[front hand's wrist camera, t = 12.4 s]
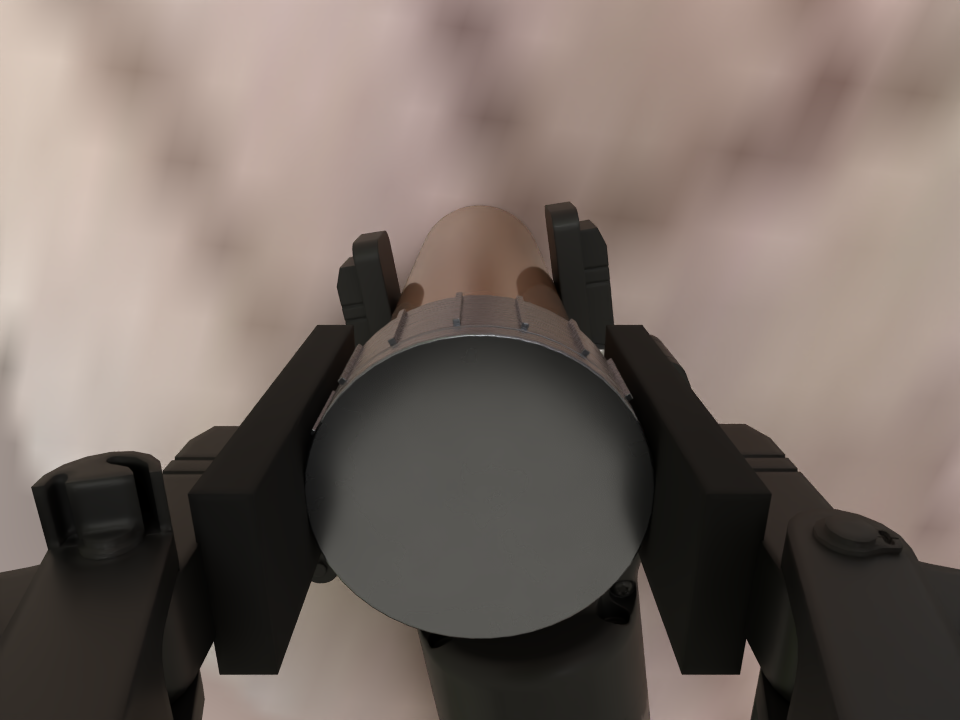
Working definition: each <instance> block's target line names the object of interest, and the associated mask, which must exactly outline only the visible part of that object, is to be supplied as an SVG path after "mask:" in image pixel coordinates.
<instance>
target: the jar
mask: <svg viewBox="0 0 960 720" xmlns="http://www.w3.org/2000/svg"><path fill="white" fill-rule="evenodd" d="M457 292H462V293H463V296H466V295H492V296H501V297H509V298H513V299H516V296H517V295H518V296H522V297H523V300H524V301H525V302H529V303H532V304H534V305H537V306H539V307H542V308H544V309H547V310H549V311H551V312H553V313H555V314H556V315H558V316H560V317H562V318H563V319H565V320H567V321H568V322H569V321H570V320H569V318H568V315H567V313H566V311H565V308H564V306H563V304H562V301H561V299H560V297H559V295H558V292H557V290H556V288H555V285H554V283H553V281H552V278H551V276H550V274H549V272H548V269H547V267H546V265H545V262H544V260H543V258H542V255H541V253H540V251H539V249H538V246H537V244H536V242H535V239H534V238H533V236H532V234H531V232H530V231H529V230H528V228H527V227H526V226H525V225H524V224H523V223H522V222H521V221H520V220H519V219H517V218H516V217H515V216H513V215H512V214H510V213H508V212H506V211H504V210H502V209H499V208H495V207H491V206H469V207H465V208H461V209H458V210H456V211H454V212H452V213H450V214H448V215H446V216H445V217H444V218H442V219H441V220H440V221H439V222H438V223H437V224H436V225H435V226H434V227H433V228H432V230H431V231H430V232H429V234H428V236H427V238H426V239H425V241H424V244H423V246H422V248H421V250H420V253H419V255H418V257H417V260H416V262H415V264H414V266H413V269H412V271H411V273H410V276H409V278H408V280H407V282H406V285H405V287H404V289H403V291H402V294H401V296H400V298H399V301H398V303H397V305H396V307H395V310H394V312H393V314H392V317H391V319H390V321H389V323H390V322H391V321H392V320H394V319H396V318H397V316H398V313H399V311H401V310H403V309H405V310H406V312H408V311H410V310H413V309H415V308H417V307H420V306H422V305H425V304H427V303H431V302H434V301H438V300H442V299H446V298H451V297H455V296H456V293H457Z"/></svg>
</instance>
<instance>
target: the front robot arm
mask: <svg viewBox="0 0 960 720" xmlns="http://www.w3.org/2000/svg"><path fill="white" fill-rule="evenodd" d="M354 350H355V339H354V325H317V326H316V327H315V329H314V330H313V331H312V333H311V334H310V335H309V337H308V338H307V339H306V340H305V342H304V343H303V344H302V346H301V347H300V348H299V350H298V351H297V352H296V353H295V355H294V356H293V357H292V359H291V360H290V361H289V363H288V364H287V365H286V366H285V368H284V369H283V370H282V372H281V373H280V374H279V376H278V377H277V378H276V379H275V381H274V382H273V383H272V385H271V386H270V387H269V389H268V390H267V391H266V392H265V394H264V395H263V396H262V398H261V399H260V400H259V402H258V403H257V404H256V405H255V407H254V408H253V409H252V411H251V412H250V413H249V415H248V416H247V417H246V418H245V420H244V421H243V422H242V424H241V425H240V426H214V427H212V428H211V429H209V430H207V431H205V432H204V433H202V434H200V435H198V436H197V437H195V438H193V439H191V440H190V441H189V442H188V443H187V444H186V445H185V446H184V447H183V449H182V450H181V451H180V452H179V453H178V454H177V455H176V456H175V460H172V461H171V462H170V463H169V464H168V465H167V467H166V468H165V469H164V470H163V474H162V469H161V464H160V461H159V460H157V459H156V458H155V457H153V456H152V455H150V454H145V453H140V452H135V451H124V452H108V453H103V454H98V455H93V456H87V457H84V458H82V459H79V460H76V461H73V462H70V463H67V464H64V465H62V466H60V467H58V468H56V469H55V470H53V471H51V472H49V473H47V474H45V475H44V476H43V477H42V478H40V479H39V480H38V481H37V482H36V483H35V484H34V485H33V486H32V487H31V488H32V492H33V496H34V499H35V503H36V507H37V510H38V514H39V518H40V521H41V525H42V529H43V532H44V536H45V540H46V543H47V547H48V551H47V553H46V555H45V557H44V559H43V560H42V562H41V564H40V565H36V566H32V567H28V568H22V569H17V570H12V571H6V572H1V573H0V720H202V715H203V707H204V700H205V698H204V691H203V684H202V678H201V673H200V667H201V665H202V663H203V661H204V659H205V657H206V655H207V653H208V651H209V650H210V648H211V646H212V644H213V642H214V645H215V651H216V657H217V662H218V668H219V673H220V675H278V672H279V669H280V667H281V664H282V661H283V658H284V656H285V653H286V650H287V647H288V644H289V642H290V639H291V636H292V633H293V631H294V628H295V625H296V622H297V620H298V617H299V614H300V611H301V608H302V606H303V603H304V600H305V597H306V595H307V592H308V589H309V586H310V583H311V581H312V578H313V575H314V572H315V570H316V567H317V564H318V561H319V558H320V556H321V551H320V549H319V547H318V545H317V543H316V540H315V538H314V536H313V533H312V531H311V528H310V524H309V520H308V516H307V508H306V498H305V489H304V469H305V464H306V458H307V453H308V449H309V446H310V443H311V440H312V438H313V436H312V435H310V433H311V430H312V428H313V426H314V424H315V422H316V420H317V419H318V417H319V415H320V413H321V411H322V409H323V407H324V406H325V404H326V402H327V400H328V398H329V396H330V394H331V392H332V391H336V389H337V387H338V386H339V384H340V383H338V380H339V378H340V376H341V374H342V372H343V371H344V369H345V367H346V365H347V363H348V361H349V359H350V357H351V356H352V354H353V352H354ZM604 357H605V358H606V360H609V359H612V360H613V362H614V363H615V365H616V367H617V369H618V371H619V373H620V375H621V376H622V378H623V380H624V382H625V384H626V386H627V388H628V389H629V391H630V393H631V395H632V397H633V399H632V400H630V401H629V402H630V404H631V406H632V408H633V410H634V412H635V414H636V416H637V418H638V420H639V422H640V423H641V425H642V427H643V429H644V432H645V435H646V438H647V440H648V443H649V446H650V448H651V453H652V458H653V463H654V468H655V494H654V504H653V512H652V517H651V521H650V525H649V529H648V531H647V533H646V536H645V538H644V541H643V543H642V546H641V548H640V549H639V551H638V554H639V557H640V560H641V562H642V565H643V568H644V571H645V573H646V576H647V579H648V582H649V585H650V587H651V590H652V593H653V596H654V598H655V601H656V604H657V607H658V610H659V612H660V615H661V618H662V621H663V623H664V626H665V629H666V632H667V635H668V637H669V640H670V643H671V646H672V648H673V651H674V654H675V657H676V660H677V662H678V665H679V668H680V671H681V673H682V675H740V671H741V665H742V660H743V654H744V648H745V643H746V639H747V641H748V643H749V645H750V647H751V649H752V651H753V653H754V655H755V657H756V659H757V661H758V663H759V665H760V667H761V668H760V673H759V678H758V684H757V689H756V694H755V699H754V705H753V710H752V715H751V720H960V569H954V568H949V567H944V566H938V565H933V564H928V563H924V562H920V561H918V559H917V557H916V555H915V554H914V552H913V550H912V548H911V547H910V546H909V545H908V544H907V543H906V542H905V540H904V539H903V538H902V537H901V536H900V535H899V534H897V533H895V532H894V531H892V530H891V529H889V528H888V527H886V526H885V525H883V524H881V523H879V522H876V521H874V520H871V519H869V518H867V517H864V516H862V515H859V514H855V513H850V512H846V511H841V510H837V509H833V508H832V507H831V505H830V504H829V503H828V502H827V501H826V500H825V499H824V498H823V496H822V495H821V494H820V493H819V492H818V491H817V490H816V489H815V488H814V486H813V485H812V484H811V483H810V482H809V481H808V480H807V479H806V477H805V476H804V475H803V474H802V473H801V472H798V471H797V467H796V466H795V465H794V464H793V463H792V462H791V461H790V460H789V458H785V454H784V453H783V452H782V451H781V450H780V448H779V447H778V446H777V445H776V444H775V443H774V442H773V441H772V440H771V438H769V437H767V436H766V435H764V434H762V433H760V432H759V431H757V430H755V429H753V428H752V427H750V426H748V425H746V424H718V423H717V422H716V420H715V419H714V418H713V416H712V415H711V414H710V413H709V411H708V410H707V409H706V407H705V406H704V405H703V403H702V402H701V401H700V400H699V398H698V397H697V396H696V394H695V393H694V392H693V390H692V389H691V388H690V387H689V385H688V384H687V383H686V381H685V380H684V379H683V377H682V376H681V375H680V374H679V372H678V371H677V370H676V368H675V367H674V366H673V364H672V363H671V362H670V360H669V359H668V358H667V357H666V355H665V354H664V353H663V351H662V350H661V349H660V347H659V346H658V345H657V344H656V342H655V341H654V340H653V338H652V337H651V336H650V334H649V333H648V332H647V331H646V329H645V328H644V327H643V325H606V334H605V348H604Z"/></svg>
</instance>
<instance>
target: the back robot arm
mask: <svg viewBox="0 0 960 720" xmlns="http://www.w3.org/2000/svg"><path fill="white" fill-rule="evenodd" d="M545 217H546V225H547V234H548V242H549V250H550V258H551V266H552V274H553V283H554V285H555V288H556V290H557V292H558V295H559V297H560V299H561V301H562V304H563V306H564V308H565V311H566V313H567V315H568V318H569V320H571V319H573V320H574V321H576V323H577V325H578V327H579V329H580V331H582V332H583V333H584V334H585V335H586V336H587V337H588V338H589V339H590V340H591V341H592V342H593V343H594V344H595V345H596V346H597V348H598V349H599V350H600V352H601V353H602V354H603V356H604V348H605V334H606V325H614V320H613V309H612V298H611V287H610V276H609V268H608V255H607V245H606V243H605V241H604V239H603V238H602V236H601V234H600V232H599V230H598V228H597V227H596V226H595V225H594V224H593V223H592V222H591V221H590V220H585V221H579V218H578V213H577V209H576V207H575V206H574V205H573V204H572V203H570V202H564V203H557V204H551V205H545ZM352 251H353V257H349V258H348V260H347V261H346V262H345V263H344V264H343V265H342V266H341V267H340V270H339V276H338V283H337V290H338V294H339V298H340V302H341V306H342V310H343V315H344V319H345V321H346V325H354V339H355V348H356V347H357V346H358V344H360V345H362V346H364V345H365V344H366V342H367V341H368V340H369V339H370V338H371V337H372V336H373V335H374V334H375V333H377V332H378V331H379V330H380V329H382V328H383V327H384V326H386V325H387V324H388V323H389V321H390V319H391V317H392V314H393V312H394V310H395V307H396V305H397V303H398V301H399V298H400V296H401V293H400V288H399V283H398V278H397V274H396V269H395V264H394V259H393V254H392V250H391V245H390V240H389V237H388V234H387V232H386V231H380V232H373V233H367V234H362V235H360V236H359V237H358V238H357V239H356V240H355V241H354V243H353V246H352ZM650 336H651V337H652V338H653V340H654V341H655V342H656V344H657V345H658V346H659V347H660V349H661V350H662V351H663V353H664V354H665V355H666V357H667V358H668V359H669V360H670V362H671V363H672V364H673V366H674V367H675V368H676V370H677V371H678V372H679V374H680V375H681V376H682V377H683V379H684V380H685V381H686V383H687V384H688V385H689V387H690V388H691V386H690V383H689V381H688V378H687V375H686V373H685V371H684V369H683V368H682V367H681V366H680V364H679V363H678V362H677V360H676V359H675V358H674V357H673V355H672V354H671V353H670V352H669V350H668V349H667V348H666V347H665V346H664V344H663V343H662V342H661V341H660V340H659V339H658V338H657V337H655V336H653V335H650ZM640 563H641V560H640V557H639V554H638V553H637V554H636V556H635V558H634V560H633V561H632V563H631V565H630V566H629V567H628V568H627V570H626V571H625V572H624V573H623V575H622V576H621V577H620V579H619V580H618V581H617V582H616V583H615V584H614V585H613V586H612V587H611V588H610V589H609V590H608V591H607V592H606V593H605V594H603V595H602V596H601V597H600V598H598V599H597V600H596V601H594V602H593V603H592V604H591V605H589V606H588V607H586V608H585V609H583V610H581V611H580V612H578V613H576V614H574V615H573V616H571V617H569V618H567V619H565V620H563V621H560V622H558V623H556V624H554V625H552V626H548V627H545V628H542V629H539V630H536V631H533V632H529V633H525V634H520V635H515V636H510V637H500V638H491V639H469V638H459V637H449V636H444V635H439V634H434V633H430V632H426V631H423V630H420V629H418V633H419V637H420V642H421V646H422V650H423V654H424V658H425V662H426V666H427V670H428V675H429V679H430V683H431V687H432V691H433V695H434V699H435V703H436V707H437V711H438V715H439V720H650V712H649V701H648V690H647V680H646V670H645V658H644V648H643V637H642V626H641V615H640V604H639V594H638V582H637V574H638V569H639V566H640ZM336 576H337V574H336V573H335V572H334V571H333V569H332V568H331V567H330V566H329V564H328V563H327V561H326V559H325V558H324V556H323V554H322V553H321V556H320V558H319V561H318V564H317V567H316V570H315V572H314V575H313V578H312V582H315V583H327V582H330V581H331V580H333V579H334V578H335V577H336Z"/></svg>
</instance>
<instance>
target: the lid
mask: <svg viewBox="0 0 960 720" xmlns="http://www.w3.org/2000/svg"><path fill="white" fill-rule="evenodd" d="M338 383H340V384H339V386H338V387H337V389H336V391H332V392H331V394H330V396H329V398H328V400H327V402H326V404H325V406H324V407H323V409H322V411H321V413H320V415H319V417H318V419H317V420H316V422H315V424H314V426H313V428H312V430H311V433H310V435H312V436H313V438H312V440H311V443H310V446H309V449H308V453H307V458H306V464H305V469H304V489H305V498H306V508H307V516H308V520H309V524H310V528H311V531H312V533H313V536H314V538H315V540H316V543H317V545H318V547H319V549H320V551H321V553H322V554H323V556H324V558H325V559H326V561H327V563H328V564H329V566H330V567H331V568H332V569H333V571H334V572H335V573H336V574H337V576H338V577H339V578H340V580H341V581H342V582H343V583H344V584H345V585H346V586H347V587H348V588H349V589H351V590H352V591H353V592H354V593H355V594H356V595H357V596H358V597H360V598H361V599H362V600H363V601H365V602H366V603H367V604H369V605H370V606H371V607H373V608H375V609H376V610H378V611H380V612H381V613H383V614H385V615H386V616H388V617H390V618H392V619H394V620H397V621H399V622H401V623H403V624H406V625H408V626H411V627H414V628H417V629H420V630H423V631H426V632H430V633H434V634H439V635H444V636H449V637H459V638H469V639H491V638H500V637H510V636H515V635H520V634H525V633H529V632H533V631H536V630H539V629H542V628H545V627H548V626H552V625H554V624H556V623H558V622H560V621H563V620H565V619H567V618H569V617H571V616H573V615H574V614H576V613H578V612H580V611H581V610H583V609H585V608H586V607H588V606H589V605H591V604H592V603H593V602H594V601H596V600H597V599H598V598H600V597H601V596H602V595H603V594H605V593H606V592H607V591H608V590H609V589H610V588H611V587H612V586H613V585H614V584H615V583H616V582H617V581H618V580H619V579H620V577H621V576H622V575H623V573H624V572H625V571H626V570H627V568H628V567H629V566H630V565H631V563H632V561H633V560H634V558H635V556H636V554H637V553H638V551H639V549H640V548H641V546H642V543H643V541H644V538H645V536H646V533H647V531H648V529H649V525H650V521H651V517H652V512H653V504H654V494H655V468H654V463H653V458H652V453H651V448H650V446H649V443H648V440H647V438H646V435H645V432H644V429H643V427H642V425H641V423H640V422H639V420H638V418H637V416H636V414H635V412H634V410H633V408H632V406H631V404H630V402H629V401H630V400H632V399H633V397H632V395H631V393H630V391H629V389H628V388H627V386H626V384H625V382H624V380H623V378H622V376H621V375H620V373H619V371H618V369H617V367H616V365H615V363H614V362H613V360H612V359H609V360H606V358H605V357H604V356H603V354H602V353H601V352H600V350H599V349H598V348H597V346H596V345H595V344H594V343H593V342H592V341H591V340H590V339H589V338H588V337H587V336H586V335H585V334H584V333H583V332H582V331H580V329H579V327H578V325H577V323H576V321H574V320H573V319H571V320H570V321H569V322H568V321H567V320H565V319H563V318H562V317H560V316H558V315H556V314H555V313H553V312H551V311H549V310H547V309H544V308H542V307H539V306H537V305H534V304H532V303H529V302H525V301H524V300H523V297H522V296H518V295H517V296H516V299H513V298H509V297H501V296H492V295H466V296H463V293H462V292H457V293H456V296H455V297H451V298H446V299H442V300H438V301H434V302H431V303H427V304H425V305H422V306H420V307H417V308H415V309H413V310H410V311H408V312H406V310H405V309H403V310H401V311H399V313H398V316H397V318H396V319H394V320H392V321H391V322H390V323H388V324H387V325H386V326H384V327H383V328H382V329H380V330H379V331H378V332H377V333H375V334H374V335H373V336H372V337H371V338H370V339H369V340H368V341H367V342H366V344H365V345H364V346H362V345H360V344H358V346H357V347H356V348H355V350H354V352H353V354H352V356H351V357H350V359H349V361H348V363H347V365H346V367H345V369H344V371H343V372H342V374H341V376H340V378H339V380H338Z"/></svg>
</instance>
